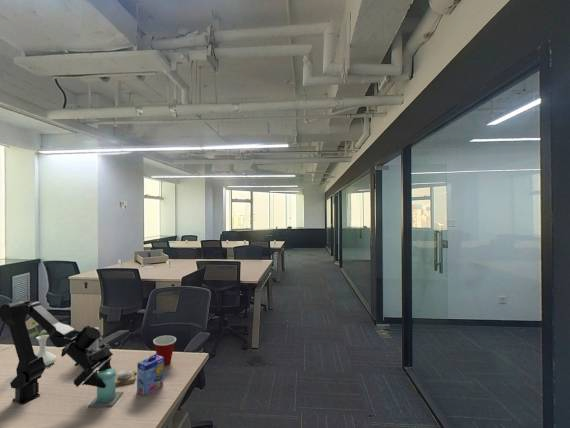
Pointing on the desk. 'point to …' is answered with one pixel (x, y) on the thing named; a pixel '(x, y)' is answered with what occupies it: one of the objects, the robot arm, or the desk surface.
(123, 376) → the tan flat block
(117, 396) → the mat
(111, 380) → the teal rounded cylinder
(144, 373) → the ink cartridge box
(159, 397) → the desk surface
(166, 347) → the plastic cup
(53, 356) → the flower in vase
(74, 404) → the desk surface
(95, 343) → the skincare box
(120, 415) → the desk surface
